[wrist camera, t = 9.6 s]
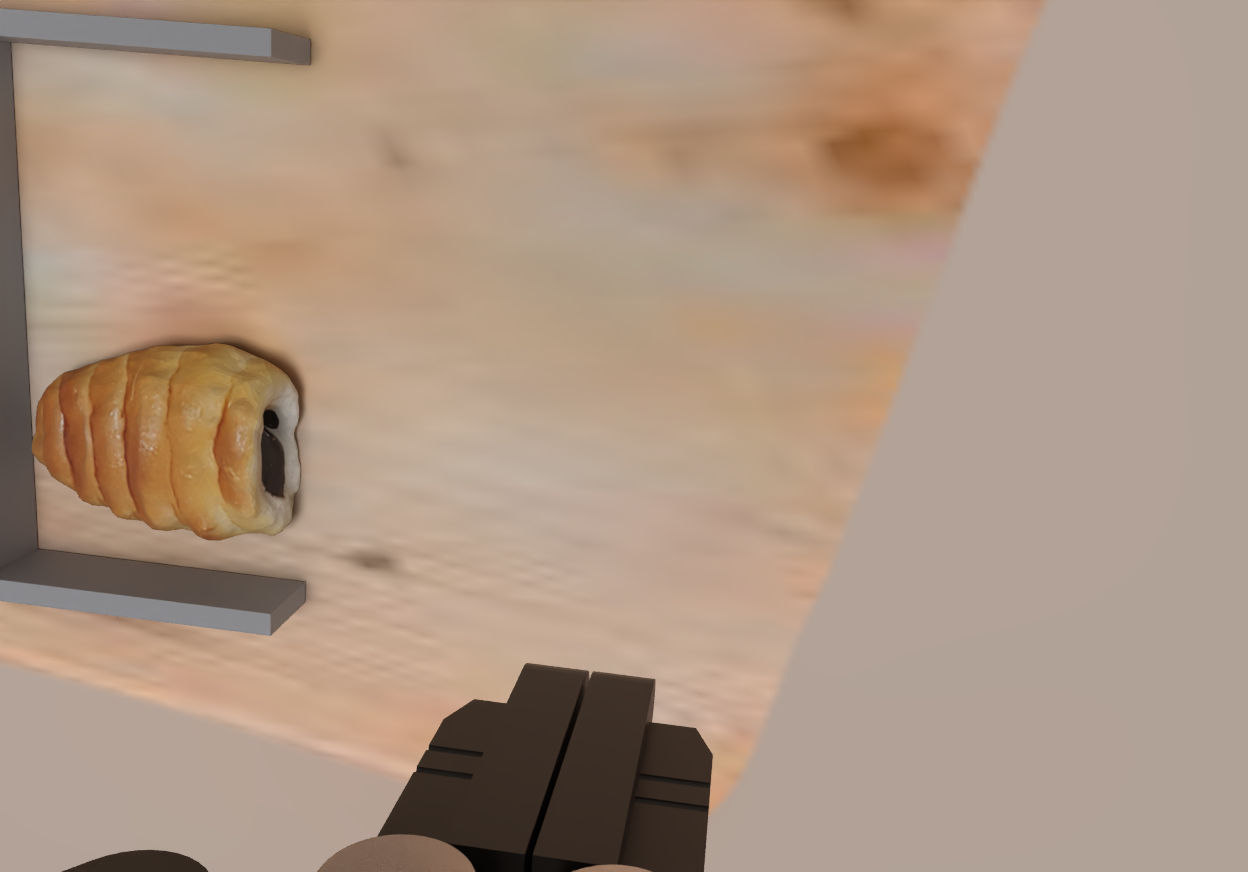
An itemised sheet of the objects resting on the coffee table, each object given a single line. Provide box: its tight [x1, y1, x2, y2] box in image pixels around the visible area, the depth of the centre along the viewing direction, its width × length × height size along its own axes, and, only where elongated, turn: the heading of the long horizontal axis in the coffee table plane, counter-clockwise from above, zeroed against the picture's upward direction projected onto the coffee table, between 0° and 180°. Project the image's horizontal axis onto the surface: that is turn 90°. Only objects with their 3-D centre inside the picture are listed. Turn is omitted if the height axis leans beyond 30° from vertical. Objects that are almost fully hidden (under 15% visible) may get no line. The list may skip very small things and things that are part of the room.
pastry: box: [32, 343, 301, 540], centre depth 38 cm, size 9×7×4 cm
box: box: [0, 8, 310, 636], centre depth 37 cm, size 20×11×3 cm, turn 175°
